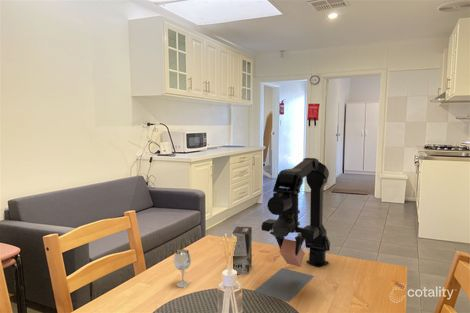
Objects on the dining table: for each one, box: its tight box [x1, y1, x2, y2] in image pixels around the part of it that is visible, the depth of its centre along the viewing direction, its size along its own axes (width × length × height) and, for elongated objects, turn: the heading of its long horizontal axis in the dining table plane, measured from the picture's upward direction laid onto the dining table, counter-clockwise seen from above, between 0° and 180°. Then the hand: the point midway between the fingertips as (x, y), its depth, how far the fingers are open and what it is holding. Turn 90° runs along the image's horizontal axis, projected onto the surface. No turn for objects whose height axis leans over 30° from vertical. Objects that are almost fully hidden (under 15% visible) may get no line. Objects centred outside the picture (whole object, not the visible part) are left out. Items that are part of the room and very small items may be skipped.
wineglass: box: [173, 249, 192, 288], centre depth 120 cm, size 6×6×12 cm
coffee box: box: [231, 226, 253, 276], centre depth 131 cm, size 9×6×16 cm
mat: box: [253, 267, 315, 303], centre depth 120 cm, size 22×13×1 cm, turn 146°
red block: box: [279, 238, 306, 268], centre depth 116 cm, size 5×5×9 cm
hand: (289, 253), depth 114 cm, fingers closed on red block, 5 cm apart
